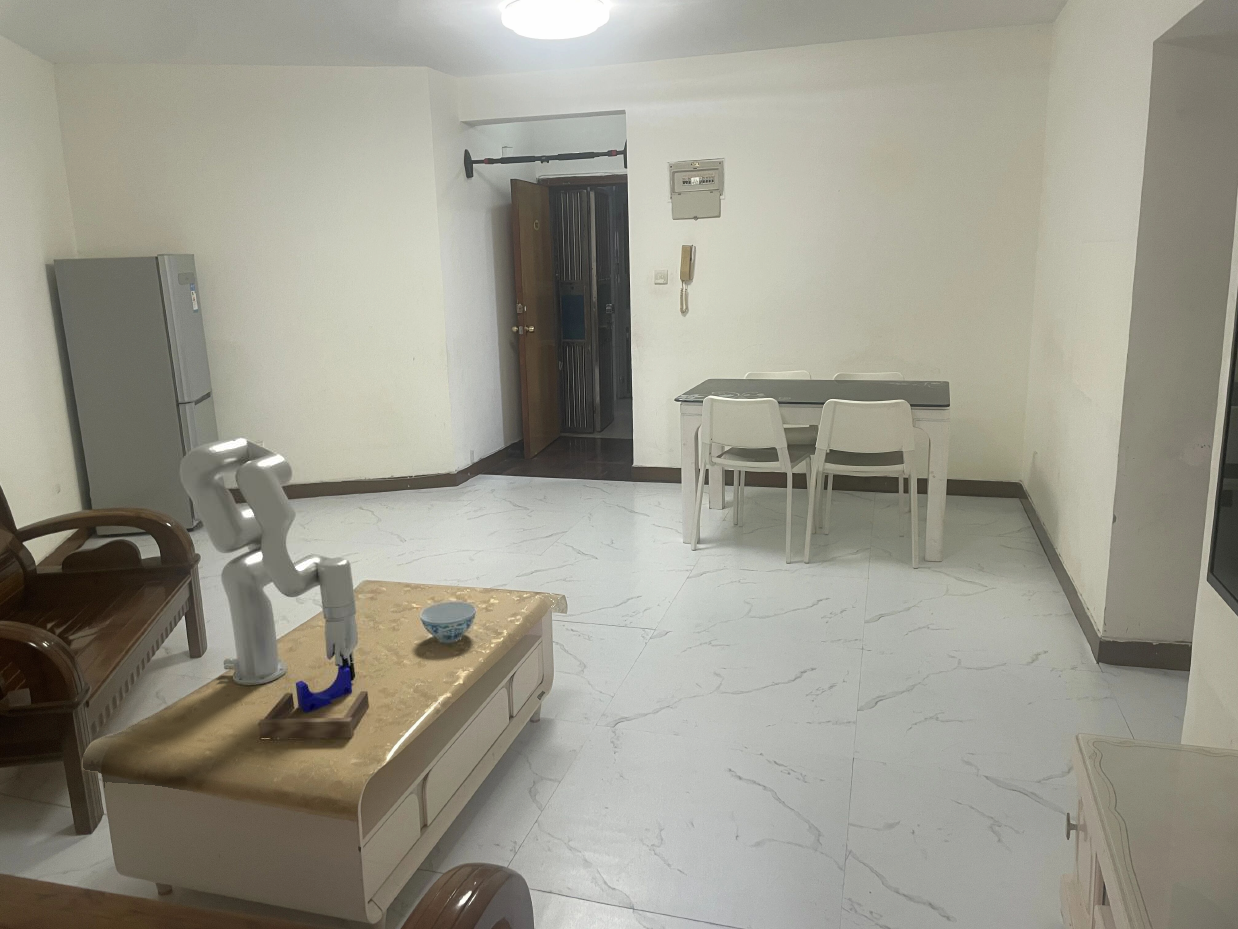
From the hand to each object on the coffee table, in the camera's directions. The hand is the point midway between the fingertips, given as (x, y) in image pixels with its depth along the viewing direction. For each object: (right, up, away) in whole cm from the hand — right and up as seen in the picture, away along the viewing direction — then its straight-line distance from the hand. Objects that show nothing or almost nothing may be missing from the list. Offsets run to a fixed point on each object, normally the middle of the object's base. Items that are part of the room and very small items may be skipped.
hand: (347, 679), depth 208 cm
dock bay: (-1, -5, -18) cm, 18 cm away
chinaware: (+20, +5, +25) cm, 32 cm away
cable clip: (-2, -3, -8) cm, 9 cm away
